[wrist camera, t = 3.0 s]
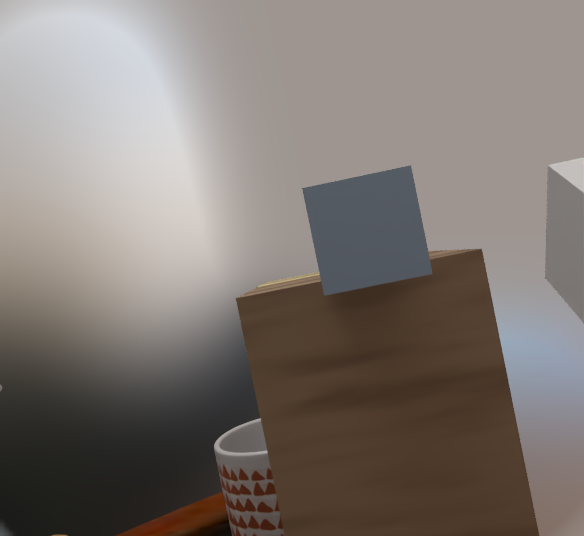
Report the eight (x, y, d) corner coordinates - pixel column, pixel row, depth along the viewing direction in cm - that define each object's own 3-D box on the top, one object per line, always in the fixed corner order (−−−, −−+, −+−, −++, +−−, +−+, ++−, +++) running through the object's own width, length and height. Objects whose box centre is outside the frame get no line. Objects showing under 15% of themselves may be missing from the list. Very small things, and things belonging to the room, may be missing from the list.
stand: (586, 773, 31) (481, 247, 31) (341, 810, 32) (235, 297, 32) (482, 571, 51) (417, 251, 51) (332, 597, 52) (268, 281, 52)
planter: (245, 588, 57) (220, 465, 56) (229, 530, 70) (208, 431, 70) (369, 545, 60) (345, 429, 60) (331, 498, 73) (312, 403, 73)
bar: (432, 273, 20) (411, 165, 20) (324, 295, 20) (302, 188, 20) (364, 261, 50) (355, 218, 50) (321, 270, 50) (312, 227, 50)
